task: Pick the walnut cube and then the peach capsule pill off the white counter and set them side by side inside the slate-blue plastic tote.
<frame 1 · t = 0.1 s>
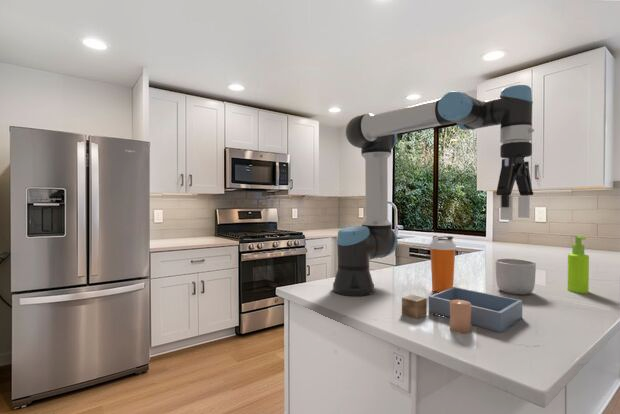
hand: (515, 218, 94), 28 cm above the counter, fingers open, 13 cm apart
peach capsule pill: (460, 329, 86), on the counter
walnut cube: (414, 314, 97), on the counter
tote: (474, 315, 96), on the counter
soap dispenser: (578, 291, 120), on the counter
planter: (514, 292, 120), on the counter
shaker bottle: (442, 291, 122), on the counter
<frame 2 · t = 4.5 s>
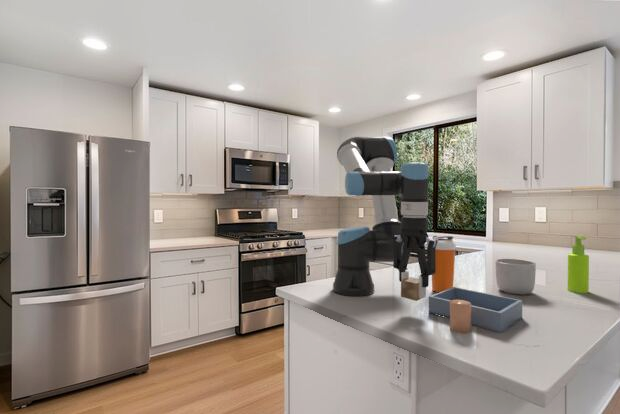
hand: (413, 295, 98), 5 cm above the counter, fingers closed on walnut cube, 5 cm apart
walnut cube: (413, 296, 98), point 5 cm above the counter, touching gripper
everything else where it was.
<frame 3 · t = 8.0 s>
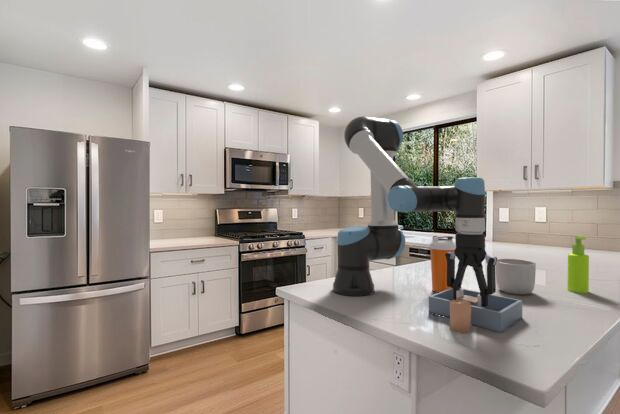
hand: (470, 315, 94), 1 cm above the counter, fingers closed on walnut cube, 5 cm apart
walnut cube: (469, 316, 93), point 1 cm above the counter, touching gripper, tote
everything else where it was.
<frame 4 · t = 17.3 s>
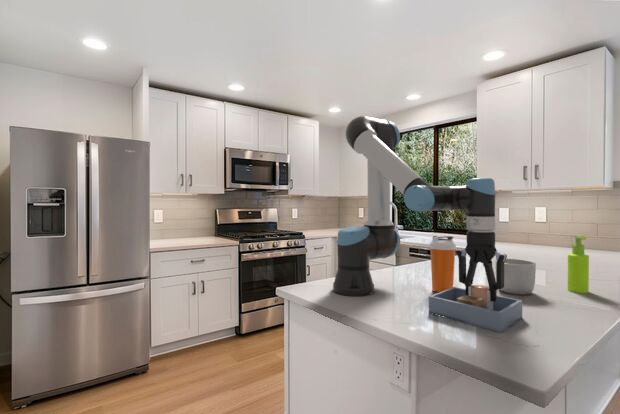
hand: (480, 309, 98), 1 cm above the counter, fingers closed on peach capsule pill, 4 cm apart
peach capsule pill: (481, 310, 98), point 1 cm above the counter, touching gripper, tote
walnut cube: (469, 316, 93), point 1 cm above the counter, touching tote
everything else where it was.
when the fingers open (1 cm above the counter, at t = 17.3 s): peach capsule pill stays where it is, resting on tote.
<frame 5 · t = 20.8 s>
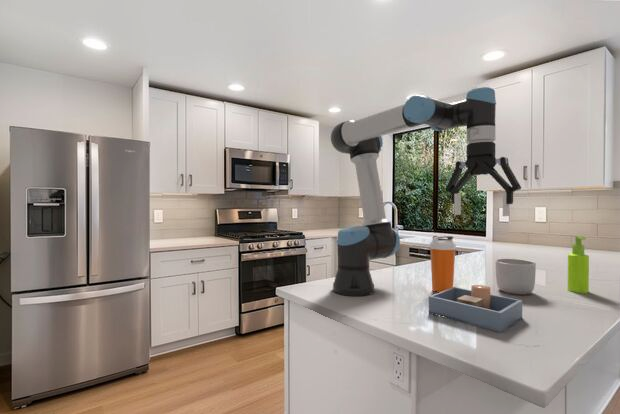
hand: (480, 215, 98), 29 cm above the counter, fingers open, 13 cm apart
peach capsule pill: (480, 310, 98), point 1 cm above the counter, touching tote
everything else where it was.
at the end: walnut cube inside the target area on the tote (3.2 cm from its centre), point 0.6 cm above the tote's base; peach capsule pill inside the target area on the tote (3.9 cm from its centre), point 0.6 cm above the tote's base; the gripper is holding nothing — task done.
